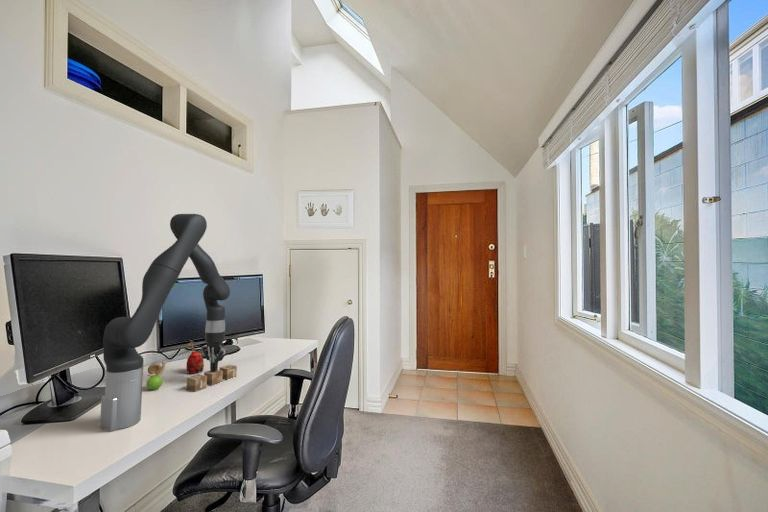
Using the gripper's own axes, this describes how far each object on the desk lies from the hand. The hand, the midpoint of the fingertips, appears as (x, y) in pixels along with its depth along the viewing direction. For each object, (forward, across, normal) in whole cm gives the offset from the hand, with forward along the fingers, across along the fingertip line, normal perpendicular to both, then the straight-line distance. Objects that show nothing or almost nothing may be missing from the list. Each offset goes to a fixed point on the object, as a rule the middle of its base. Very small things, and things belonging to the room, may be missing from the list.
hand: (213, 370), depth 139 cm
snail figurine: (+5, -14, -15) cm, 21 cm away
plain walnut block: (+5, 0, 0) cm, 5 cm away
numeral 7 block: (+5, 0, +7) cm, 9 cm away
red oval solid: (+5, -20, +6) cm, 22 cm away
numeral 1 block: (+5, 0, -8) cm, 9 cm away
